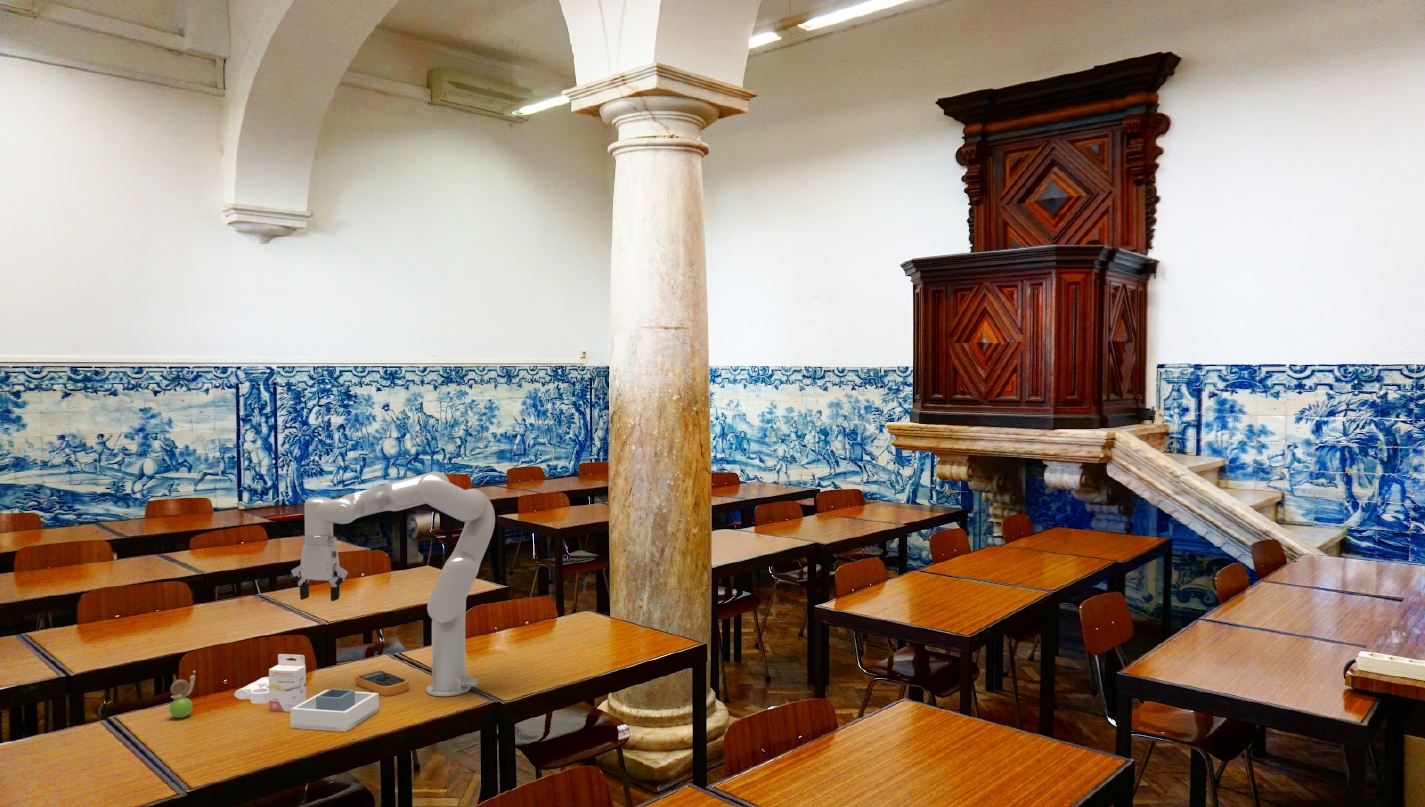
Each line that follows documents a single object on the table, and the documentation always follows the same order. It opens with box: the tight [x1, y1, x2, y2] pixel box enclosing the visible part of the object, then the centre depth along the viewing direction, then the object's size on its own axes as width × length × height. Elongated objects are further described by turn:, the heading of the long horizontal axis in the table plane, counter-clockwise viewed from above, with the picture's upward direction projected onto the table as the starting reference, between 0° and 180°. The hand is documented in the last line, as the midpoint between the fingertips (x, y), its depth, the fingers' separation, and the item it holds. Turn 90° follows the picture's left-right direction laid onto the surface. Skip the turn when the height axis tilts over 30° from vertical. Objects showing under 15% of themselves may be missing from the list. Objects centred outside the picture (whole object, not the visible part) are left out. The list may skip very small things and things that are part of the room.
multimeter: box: [354, 669, 409, 697], centre depth 282 cm, size 9×18×3 cm, turn 49°
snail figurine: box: [169, 670, 196, 719], centre depth 257 cm, size 5×6×12 cm
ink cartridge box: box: [268, 653, 307, 713], centre depth 263 cm, size 9×5×15 cm, turn 84°
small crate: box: [316, 688, 356, 711], centre depth 255 cm, size 7×7×6 cm
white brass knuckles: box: [233, 676, 269, 705], centre depth 277 cm, size 3×18×15 cm
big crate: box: [289, 689, 380, 733], centre depth 255 cm, size 16×16×5 cm
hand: (319, 599), depth 273 cm, fingers open, 9 cm apart
